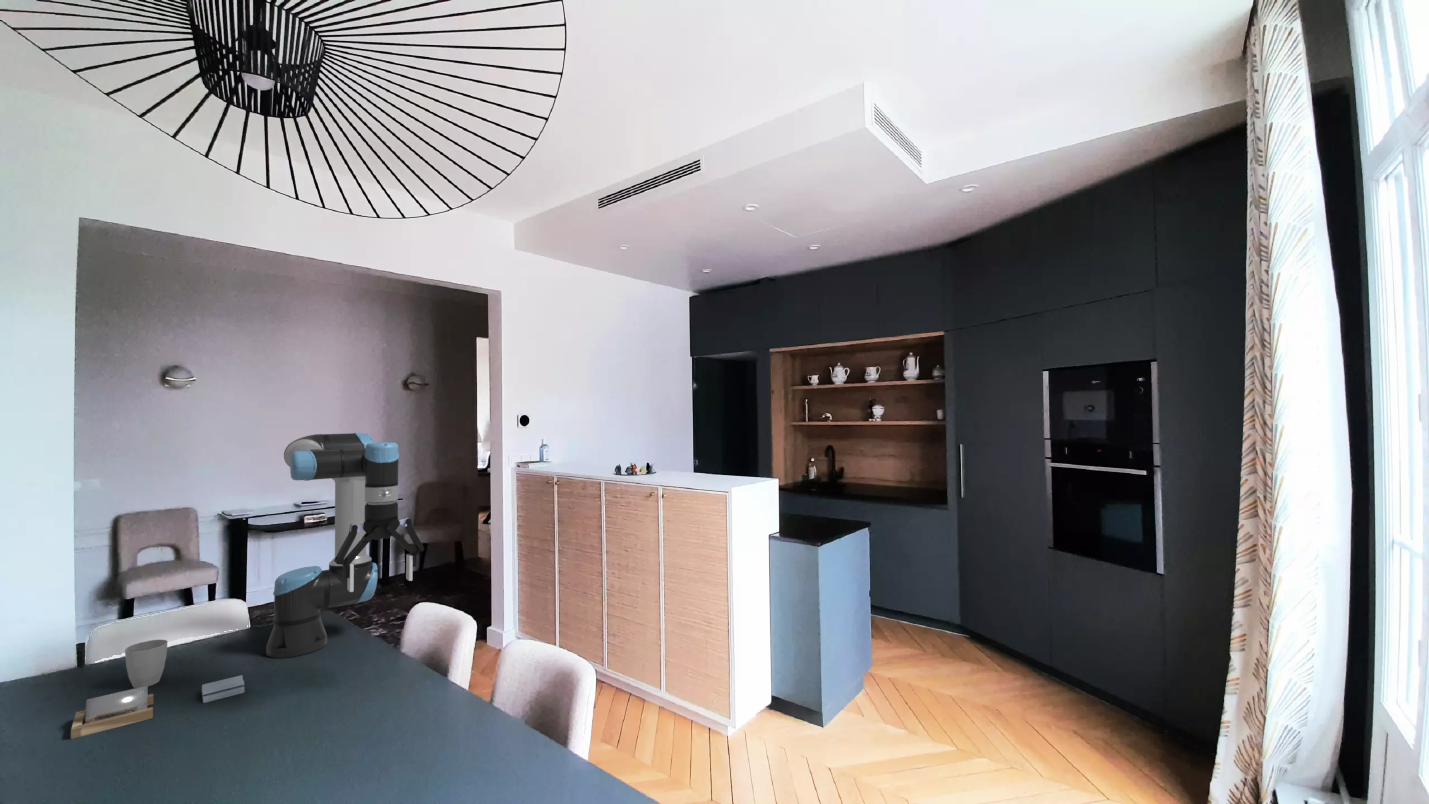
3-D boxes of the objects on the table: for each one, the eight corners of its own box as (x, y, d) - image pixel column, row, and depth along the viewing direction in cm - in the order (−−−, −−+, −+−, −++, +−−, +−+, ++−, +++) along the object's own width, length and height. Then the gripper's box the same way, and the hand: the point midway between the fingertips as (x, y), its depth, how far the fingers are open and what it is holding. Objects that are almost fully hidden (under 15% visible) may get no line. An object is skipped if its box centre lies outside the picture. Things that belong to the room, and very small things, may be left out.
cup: (175, 677, 159) (176, 640, 159) (143, 691, 151) (144, 652, 151) (148, 675, 160) (149, 638, 160) (115, 690, 152) (115, 651, 152)
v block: (201, 691, 151) (201, 682, 151) (241, 681, 156) (241, 672, 156) (203, 703, 145) (203, 693, 145) (244, 692, 151) (244, 682, 151)
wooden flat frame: (76, 720, 137) (76, 712, 137) (153, 701, 146) (153, 693, 146) (70, 739, 129) (70, 730, 129) (152, 718, 138) (152, 709, 138)
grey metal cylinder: (85, 731, 132) (85, 703, 133) (87, 723, 136) (88, 696, 137) (146, 715, 139) (147, 689, 139) (147, 708, 143) (147, 682, 144)
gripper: (327, 509, 140) (327, 599, 140) (437, 499, 158) (436, 578, 157) (321, 506, 146) (320, 592, 146) (427, 495, 163) (427, 572, 163)
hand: (380, 585), depth 152 cm, fingers open, 13 cm apart
